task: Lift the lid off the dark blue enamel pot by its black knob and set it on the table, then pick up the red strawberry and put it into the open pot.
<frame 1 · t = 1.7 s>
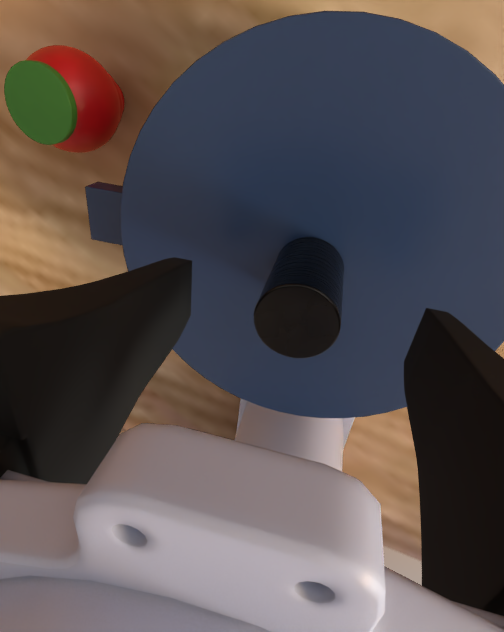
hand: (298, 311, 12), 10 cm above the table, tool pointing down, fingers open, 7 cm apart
lid: (310, 263, 15), point 6 cm above the table, touching pot
pot: (322, 216, 20), on the table
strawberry: (106, 99, 20), on the table
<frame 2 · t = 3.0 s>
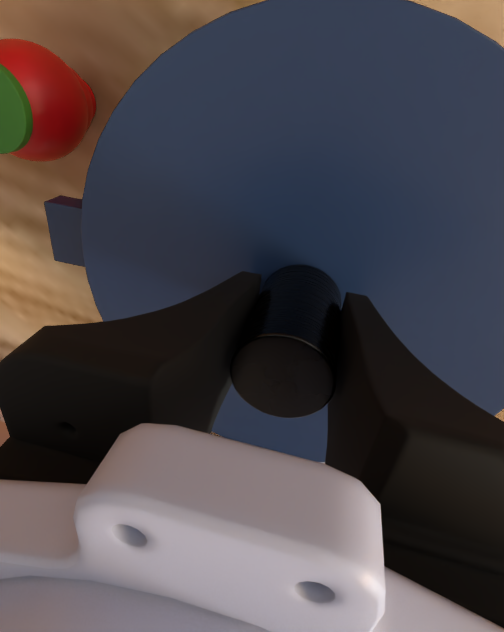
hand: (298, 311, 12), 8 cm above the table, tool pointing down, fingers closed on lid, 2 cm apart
lid: (302, 293, 13), point 6 cm above the table, touching gripper, pot
pot: (318, 231, 18), on the table
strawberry: (76, 100, 18), on the table
when the fingers open (2 cm above the table, at t = 7.5 s): lid stays where it is, point 1 cm above the table.
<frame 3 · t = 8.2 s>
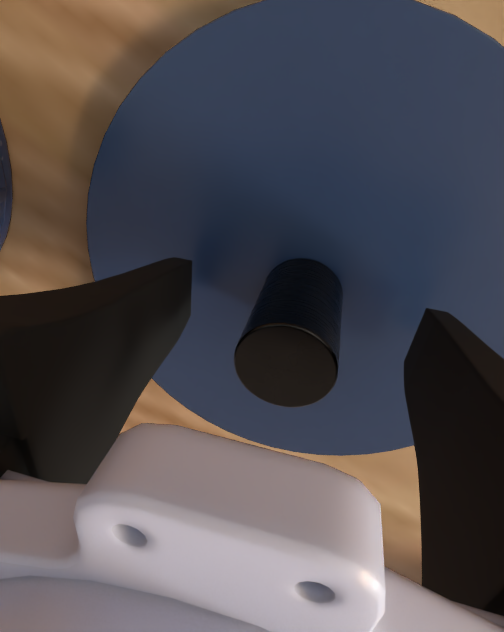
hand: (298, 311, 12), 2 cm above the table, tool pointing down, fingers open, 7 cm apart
lid: (304, 287, 13), point 1 cm above the table
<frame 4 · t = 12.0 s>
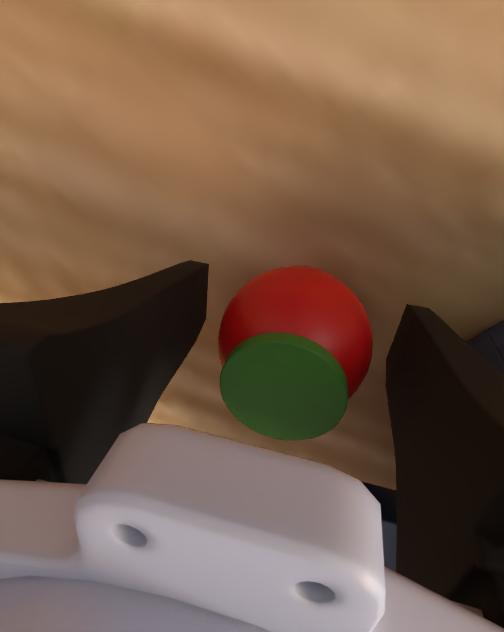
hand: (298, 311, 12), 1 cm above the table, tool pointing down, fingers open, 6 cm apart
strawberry: (305, 293, 13), on the table
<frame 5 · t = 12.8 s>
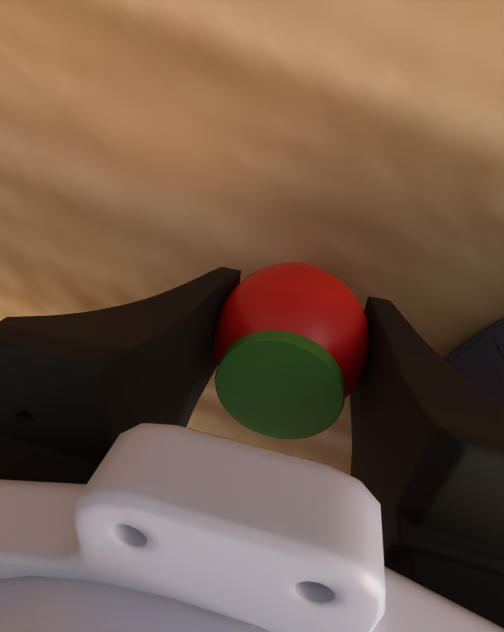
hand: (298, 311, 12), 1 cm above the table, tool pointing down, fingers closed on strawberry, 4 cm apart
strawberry: (302, 290, 13), on the table, touching gripper
when the fingers open (2 cm above the table, at t = 17.9 s): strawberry stays where it is, resting on pot.
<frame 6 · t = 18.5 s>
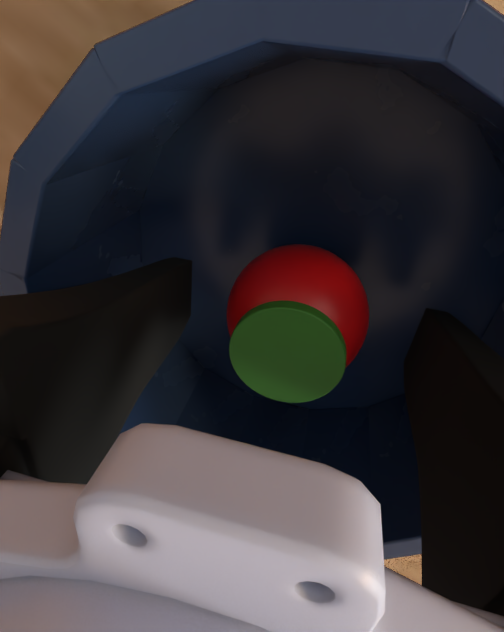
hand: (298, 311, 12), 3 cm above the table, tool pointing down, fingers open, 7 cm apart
pot: (308, 270, 14), on the table
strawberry: (306, 273, 14), resting on pot
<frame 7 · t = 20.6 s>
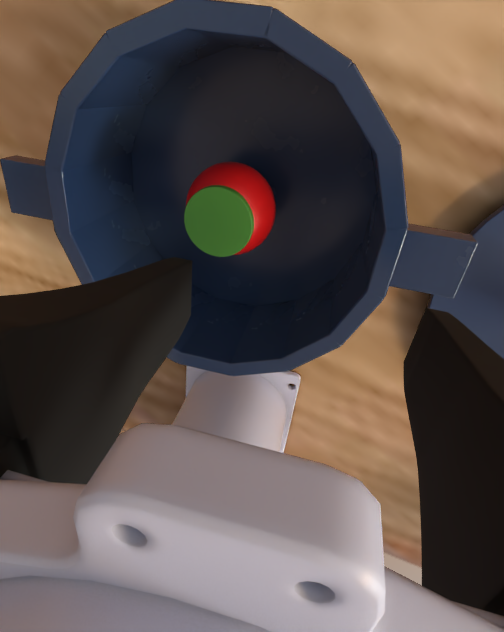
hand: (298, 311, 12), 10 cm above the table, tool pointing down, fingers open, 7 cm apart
pot: (248, 194, 21), on the table
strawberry: (245, 195, 21), resting on pot
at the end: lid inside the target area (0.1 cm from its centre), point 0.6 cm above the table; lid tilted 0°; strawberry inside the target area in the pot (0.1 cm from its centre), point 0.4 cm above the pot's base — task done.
